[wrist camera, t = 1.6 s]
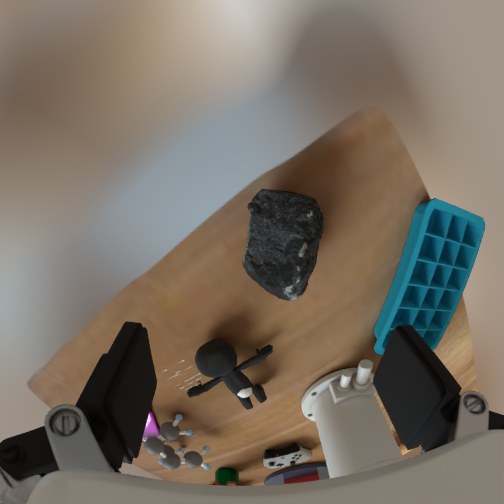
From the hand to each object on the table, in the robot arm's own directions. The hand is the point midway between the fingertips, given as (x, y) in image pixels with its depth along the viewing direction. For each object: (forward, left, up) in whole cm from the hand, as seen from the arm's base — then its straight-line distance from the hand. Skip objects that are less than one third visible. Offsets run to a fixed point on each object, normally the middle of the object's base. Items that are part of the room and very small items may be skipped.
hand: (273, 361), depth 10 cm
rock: (-4, +5, -16) cm, 17 cm away
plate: (+61, +10, -20) cm, 65 cm away
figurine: (+14, -8, -17) cm, 24 cm away
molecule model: (+35, -11, -21) cm, 42 cm away
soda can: (+53, -7, -20) cm, 57 cm away
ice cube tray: (+8, +22, -20) cm, 31 cm away
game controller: (+44, +5, -20) cm, 49 cm away
